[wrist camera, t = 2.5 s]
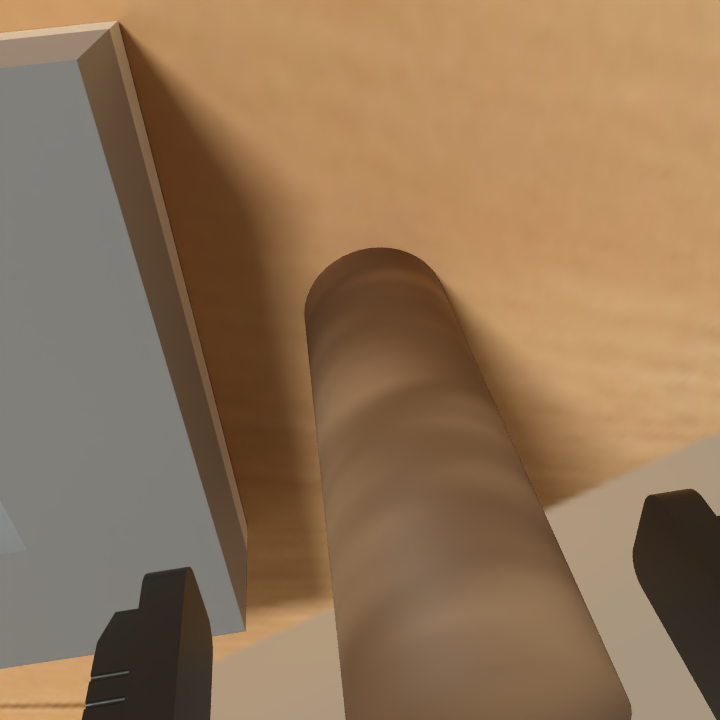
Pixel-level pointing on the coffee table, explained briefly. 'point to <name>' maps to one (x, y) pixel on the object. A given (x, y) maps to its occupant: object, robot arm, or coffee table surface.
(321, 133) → the coffee table surface
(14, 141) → the socket block
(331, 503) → the walnut peg
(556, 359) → the coffee table surface
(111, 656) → the robot arm
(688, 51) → the coffee table surface
